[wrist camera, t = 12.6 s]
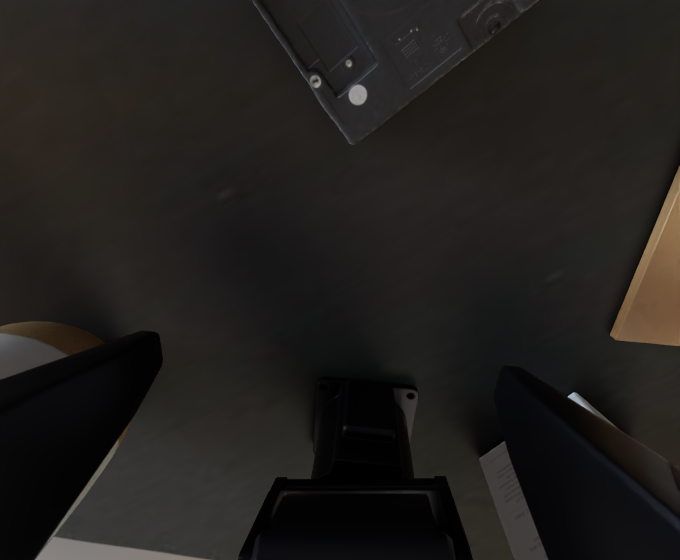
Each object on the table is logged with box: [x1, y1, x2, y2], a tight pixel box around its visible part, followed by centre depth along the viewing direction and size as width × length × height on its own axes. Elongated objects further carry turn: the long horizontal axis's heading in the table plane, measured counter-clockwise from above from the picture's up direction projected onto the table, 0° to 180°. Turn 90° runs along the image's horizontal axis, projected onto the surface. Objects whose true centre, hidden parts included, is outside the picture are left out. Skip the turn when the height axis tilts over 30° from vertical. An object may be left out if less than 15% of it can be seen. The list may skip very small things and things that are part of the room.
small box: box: [479, 392, 617, 560], centre depth 18 cm, size 8×6×13 cm
